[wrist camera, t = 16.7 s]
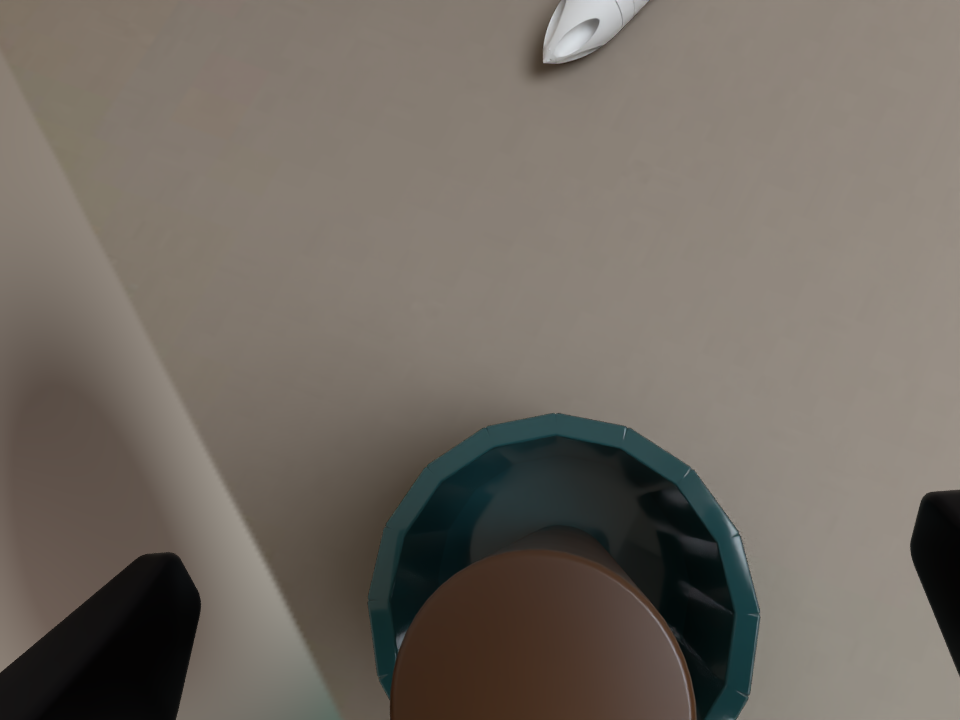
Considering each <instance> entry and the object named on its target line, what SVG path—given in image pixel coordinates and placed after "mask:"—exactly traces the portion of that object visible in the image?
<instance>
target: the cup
mask: <svg viewBox="0 0 960 720" xmlns="http://www.w3.org/2000/svg"><path fill="white" fill-rule="evenodd" d="M691 469H692V468H691V467H690V466H688V465H687V464H685V463H684V462H682V461H681V460H679V459H678V458H676V457H674V456H673V455H671V454H670V453H668V452H667V451H665V450H664V449H662V448H661V447H659V446H657V445H656V444H654V443H653V442H651V441H650V440H648V439H647V438H645V437H643V436H642V435H640V434H639V433H637V432H636V431H634V430H633V429H631V428H627V427H626V426H623V425H617V424H612V423H607V422H602V421H597V420H592V419H587V418H582V417H576V416H571V415H566V414H561V413H556V414H555V413H550V414H545V415H540V416H535V417H530V418H525V419H520V420H515V421H510V422H505V423H500V424H495V425H490V426H487V427H486V428H482V429H481V430H479V431H478V432H476V433H475V434H473V435H471V436H470V437H468V438H467V439H465V440H464V441H462V442H461V443H459V444H458V445H456V446H455V447H453V448H452V449H450V450H449V451H447V452H446V453H444V454H443V455H441V456H440V457H438V458H437V459H435V460H434V461H432V462H431V463H429V464H428V465H427V467H425V468H424V469H423V471H422V472H421V474H420V475H419V476H418V478H417V479H416V481H415V482H414V484H413V485H412V487H411V488H410V490H409V491H408V492H407V494H406V495H405V497H404V498H403V500H402V501H401V503H400V504H399V506H398V507H397V508H396V510H395V511H394V513H393V514H392V516H391V517H390V519H389V520H388V522H387V523H386V527H384V530H383V534H382V538H381V542H380V547H379V551H378V555H377V559H376V564H375V568H374V572H373V577H372V581H371V585H370V589H369V594H368V610H369V618H370V625H371V633H372V640H373V648H374V655H375V662H376V670H377V676H378V677H379V682H380V683H381V685H382V687H383V689H384V691H385V693H386V694H387V696H388V698H389V700H390V690H391V683H392V676H393V670H394V666H395V662H396V659H397V655H398V651H399V649H400V646H401V644H402V641H403V639H404V636H405V634H406V632H407V630H408V628H409V626H410V624H411V623H412V621H413V619H414V617H415V615H416V614H417V613H418V611H419V610H420V609H421V607H422V606H423V605H424V603H425V602H426V600H427V599H428V598H429V597H430V596H431V595H432V594H433V593H434V592H435V591H436V590H437V589H438V588H439V587H440V586H441V585H442V584H443V583H444V582H446V581H447V580H448V579H449V578H451V577H452V576H453V575H454V574H456V573H457V572H459V571H461V570H462V569H464V568H466V567H467V566H469V565H471V564H472V563H474V562H476V561H478V560H480V559H482V558H484V557H486V556H488V555H490V554H492V553H494V552H496V551H498V550H500V549H502V548H504V547H506V546H508V545H510V544H512V543H514V542H516V541H518V540H520V539H522V538H524V537H526V536H528V535H530V534H532V533H534V532H535V531H538V530H540V529H542V528H546V527H549V526H570V527H574V528H578V529H580V530H582V531H584V532H586V533H588V534H590V535H591V536H592V537H594V538H595V539H596V540H597V541H598V542H599V543H600V544H601V545H602V546H603V547H604V548H605V549H606V551H607V552H608V553H609V554H610V555H611V556H612V558H613V559H614V560H615V561H616V562H617V563H618V565H619V566H620V567H621V568H622V569H623V570H624V572H625V573H626V574H627V575H628V576H629V577H630V579H631V580H632V581H633V582H634V583H635V584H636V585H637V587H638V588H639V589H640V590H641V591H642V592H643V594H644V595H645V596H646V597H647V598H648V599H649V601H650V602H651V603H652V604H653V606H654V607H655V608H656V609H657V611H658V612H659V613H660V614H661V616H662V617H663V618H664V620H665V621H666V623H667V624H668V626H669V628H670V629H671V631H672V633H673V634H674V636H675V638H676V640H677V642H678V644H679V646H680V649H681V651H682V653H683V655H684V657H685V660H686V663H687V667H688V670H689V673H690V676H691V680H692V685H693V690H694V695H695V701H696V717H697V720H736V719H737V717H738V716H739V714H740V712H741V711H742V709H743V707H744V706H745V704H746V702H747V701H748V698H749V697H748V696H749V695H750V691H751V684H752V676H753V669H754V661H755V654H756V646H757V639H758V631H759V624H760V614H759V613H760V608H759V604H758V601H757V597H756V593H755V589H754V585H753V581H752V577H751V574H750V570H749V566H748V562H747V558H746V554H745V550H744V547H743V543H742V539H741V536H740V534H739V531H738V530H737V529H736V527H735V526H734V524H733V523H732V522H731V520H730V519H729V517H728V516H727V515H726V513H725V512H724V511H723V509H722V508H721V506H720V505H719V504H718V502H717V501H716V500H715V498H714V497H713V495H712V494H711V493H710V491H709V490H708V488H707V487H706V486H705V484H704V483H703V482H702V480H701V479H700V477H699V476H698V475H697V473H696V472H695V471H694V470H693V469H692V470H691Z"/></svg>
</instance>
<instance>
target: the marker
mask: <svg viewBox="0 0 960 720" xmlns="http://www.w3.org/2000/svg"><path fill="white" fill-rule="evenodd" d="M648 1H649V0H561V1H560V3H559V4H558V6H557V8H556V10H555V12H554V14H553V16H552V18H551V20H550V23H549V25H548V28H547V31H546V35H545V40H544V45H543V63H549V64H559V63H565V62H569V61H572V60H575V59H578V58H581V57H583V56H586V55H588V54H590V53H592V52H594V51H595V50H597V49H599V48H600V47H602V46H603V45H605V44H606V43H607V42H608V41H610V40H611V39H612V38H613V37H614V36H615V35H616V34H617V33H618V32H619V31H620V30H621V29H622V28H623V27H624V26H625V25H626V24H627V23H628V22H629V21H630V20H631V19H632V18H633V17H634V16H635V15H636V14H637V13H638V12H639V10H640V9H641V8H642V7H643V6H644V5H645V4H646V3H647V2H648Z"/></svg>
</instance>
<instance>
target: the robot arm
mask: <svg viewBox="0 0 960 720" xmlns="http://www.w3.org/2000/svg"><path fill="white" fill-rule="evenodd" d="M910 550H911V556H912V560H913V563H914V566H915V569H916V571H917V573H918V576H919V578H920V581H921V583H922V586H923V588H924V591H925V593H926V596H927V598H928V600H929V603H930V605H931V608H932V610H933V613H934V615H935V618H936V620H937V622H938V625H939V627H940V630H941V632H942V635H943V637H944V640H945V642H946V644H947V647H948V649H949V652H950V654H951V657H952V659H953V662H954V664H955V667H956V669H957V671H958V674H959V676H960V490H950V491H937V492H930V493H927V494H926V495H925V496H924V497H923V498H922V500H921V503H920V507H919V511H918V514H917V518H916V522H915V526H914V530H913V534H912V538H911V543H910ZM200 610H201V600H200V596H199V593H198V590H197V588H196V587H195V585H194V583H193V581H192V579H191V577H190V576H189V574H188V572H187V570H186V568H185V566H184V565H183V563H182V561H181V559H180V558H179V557H178V556H177V555H175V554H174V553H170V552H166V553H154V554H145V555H142V556H140V557H138V558H137V559H136V560H134V561H133V562H132V563H131V564H130V565H129V566H127V567H126V568H125V569H124V570H123V571H121V572H120V573H119V574H118V575H117V576H115V577H114V578H113V579H112V580H111V581H109V582H108V583H107V584H106V585H105V586H103V587H102V588H101V589H100V590H99V591H97V592H96V593H95V594H94V595H93V596H91V597H90V598H89V599H88V600H87V601H85V602H84V603H83V604H82V605H81V606H79V607H78V608H77V609H76V610H75V611H74V612H72V613H71V614H70V615H69V616H68V617H66V618H65V619H64V620H63V621H62V622H60V623H59V624H58V625H57V626H56V627H54V629H52V630H51V631H50V632H48V633H47V634H46V635H45V636H44V637H42V638H41V639H40V640H39V641H38V642H36V643H35V644H34V645H33V646H32V647H31V648H29V649H28V650H27V651H26V652H25V653H23V654H22V655H21V656H20V657H19V658H17V659H16V660H15V661H14V662H13V663H12V664H10V665H9V666H8V667H7V668H6V669H4V670H3V671H2V672H1V673H0V720H176V717H177V713H178V709H179V704H180V700H181V695H182V691H183V687H184V682H185V677H186V673H187V669H188V665H189V660H190V656H191V651H192V647H193V643H194V638H195V633H196V629H197V625H198V621H199V616H200Z"/></svg>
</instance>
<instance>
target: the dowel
mask: <svg viewBox="0 0 960 720" xmlns="http://www.w3.org/2000/svg"><path fill="white" fill-rule="evenodd" d="M390 720H697V717H696V701H695V695H694V690H693V685H692V680H691V676H690V673H689V670H688V667H687V663H686V660H685V657H684V655H683V653H682V651H681V649H680V646H679V644H678V642H677V640H676V638H675V636H674V634H673V633H672V631H671V629H670V628H669V626H668V624H667V623H666V621H665V620H664V618H663V617H662V616H661V614H660V613H659V612H658V611H657V609H656V608H655V607H654V606H653V604H652V603H651V602H650V601H649V599H648V598H647V597H646V596H645V595H644V594H643V592H642V591H641V590H640V589H639V588H638V587H637V585H636V584H635V583H634V582H633V581H632V580H631V579H630V577H629V576H628V575H627V574H626V573H625V572H624V570H623V569H622V568H621V567H620V566H619V565H618V563H617V562H616V561H615V560H614V559H613V558H612V556H611V555H610V554H609V553H608V552H607V551H606V549H605V548H604V547H603V546H602V545H601V544H600V543H599V542H598V541H597V540H596V539H595V538H594V537H592V536H591V535H590V534H588V533H586V532H584V531H582V530H580V529H578V528H574V527H570V526H549V527H546V528H542V529H540V530H538V531H535V532H534V533H532V534H530V535H528V536H526V537H524V538H522V539H520V540H518V541H516V542H514V543H512V544H510V545H508V546H506V547H504V548H502V549H500V550H498V551H496V552H494V553H492V554H490V555H488V556H486V557H484V558H482V559H480V560H478V561H476V562H474V563H472V564H471V565H469V566H467V567H466V568H464V569H462V570H461V571H459V572H457V573H456V574H454V575H453V576H452V577H451V578H449V579H448V580H447V581H446V582H444V583H443V584H442V585H441V586H440V587H439V588H438V589H437V590H436V591H435V592H434V593H433V594H432V595H431V596H430V597H429V598H428V599H427V600H426V602H425V603H424V605H423V606H422V607H421V609H420V610H419V611H418V613H417V614H416V615H415V617H414V619H413V621H412V623H411V624H410V626H409V628H408V630H407V632H406V634H405V636H404V639H403V641H402V644H401V646H400V649H399V651H398V655H397V659H396V662H395V666H394V670H393V676H392V683H391V690H390Z"/></svg>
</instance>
